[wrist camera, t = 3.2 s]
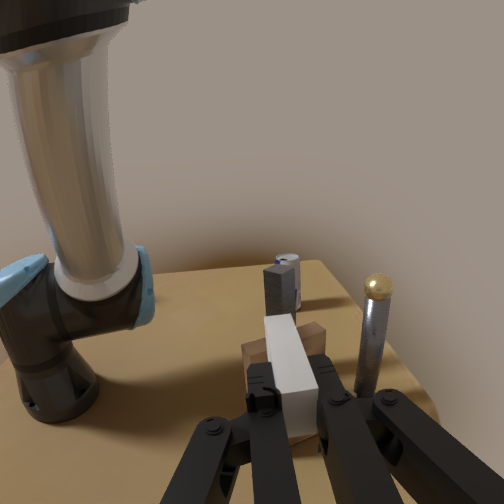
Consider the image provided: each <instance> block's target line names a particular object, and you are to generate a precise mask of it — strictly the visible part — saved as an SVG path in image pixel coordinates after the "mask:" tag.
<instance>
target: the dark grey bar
mask: <svg viewBox="0 0 504 504" xmlns="http://www.w3.org/2000/svg"><path fill="white" fill-rule="evenodd" d="M263 274H264V289H265V305H266V316H274V315H282V314H290V313H291V316H292V318H293V321H294V324H295V326H296V298H295V267H291V266H286V265H282V264H275V265H273V266H271V267H269V268H267V269H264V270H263Z"/></svg>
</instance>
